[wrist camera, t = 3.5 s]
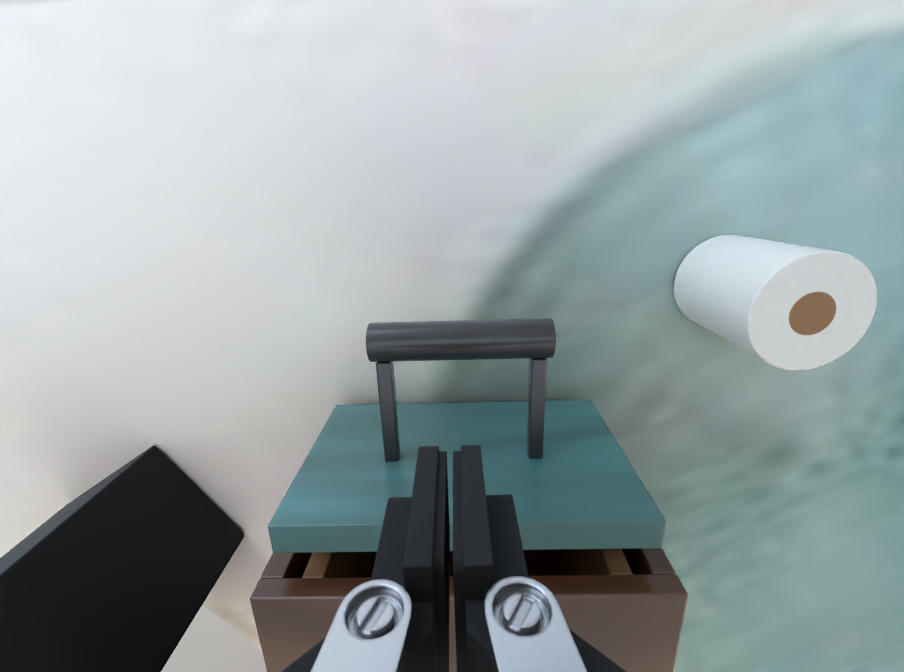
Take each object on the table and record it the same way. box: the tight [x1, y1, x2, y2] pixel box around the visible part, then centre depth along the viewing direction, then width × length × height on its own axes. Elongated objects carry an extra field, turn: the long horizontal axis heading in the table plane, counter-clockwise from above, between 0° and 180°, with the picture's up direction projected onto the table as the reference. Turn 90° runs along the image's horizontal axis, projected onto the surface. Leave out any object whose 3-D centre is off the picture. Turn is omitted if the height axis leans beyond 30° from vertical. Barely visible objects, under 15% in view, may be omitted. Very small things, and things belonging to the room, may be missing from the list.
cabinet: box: [250, 548, 688, 672], centre depth 22 cm, size 16×15×11 cm
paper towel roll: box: [674, 234, 877, 371], centre depth 19 cm, size 5×5×6 cm
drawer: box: [268, 319, 666, 578], centre depth 20 cm, size 20×14×9 cm, turn 2°
